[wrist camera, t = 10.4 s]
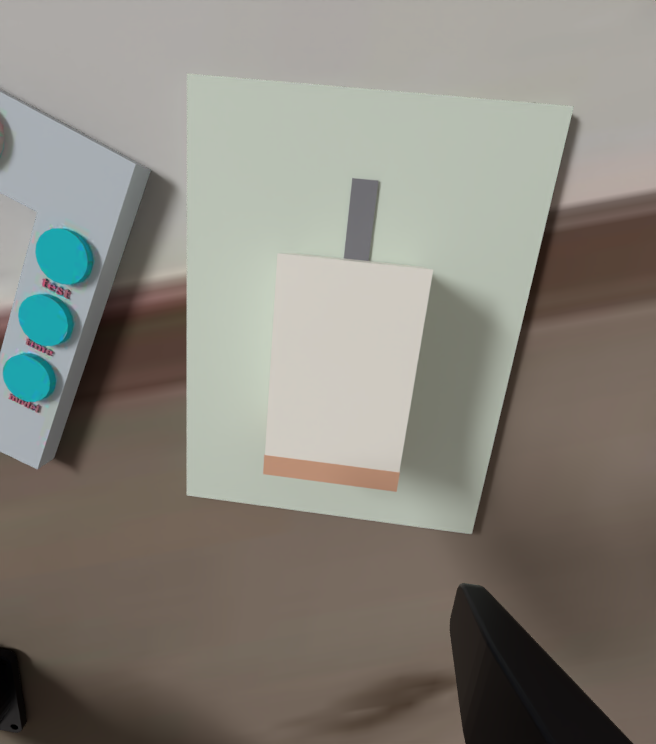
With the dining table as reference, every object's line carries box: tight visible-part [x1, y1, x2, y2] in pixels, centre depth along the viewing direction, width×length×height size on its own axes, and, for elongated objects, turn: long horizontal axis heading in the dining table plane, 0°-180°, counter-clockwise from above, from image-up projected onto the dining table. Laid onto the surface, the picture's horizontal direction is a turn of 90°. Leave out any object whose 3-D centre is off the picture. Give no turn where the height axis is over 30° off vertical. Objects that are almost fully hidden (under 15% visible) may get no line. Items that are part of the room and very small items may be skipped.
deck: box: [263, 253, 433, 492], centre depth 16 cm, size 5×8×4 cm, turn 174°
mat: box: [187, 74, 574, 534], centre depth 18 cm, size 18×14×1 cm
